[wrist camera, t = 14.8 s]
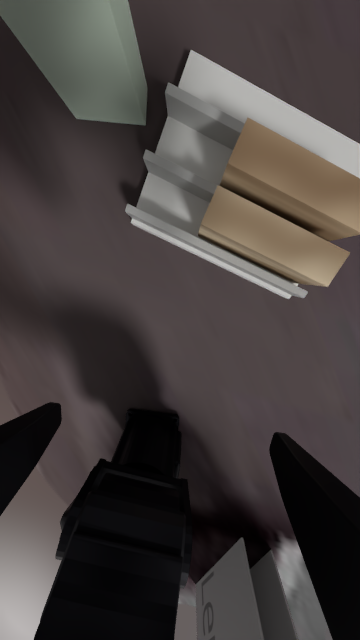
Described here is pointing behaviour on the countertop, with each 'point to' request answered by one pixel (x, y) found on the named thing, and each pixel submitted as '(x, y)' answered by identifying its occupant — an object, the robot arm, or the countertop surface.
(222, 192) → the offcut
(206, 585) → the white cardboard box
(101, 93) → the sage green block
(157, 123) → the countertop surface
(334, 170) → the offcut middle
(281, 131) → the rack
